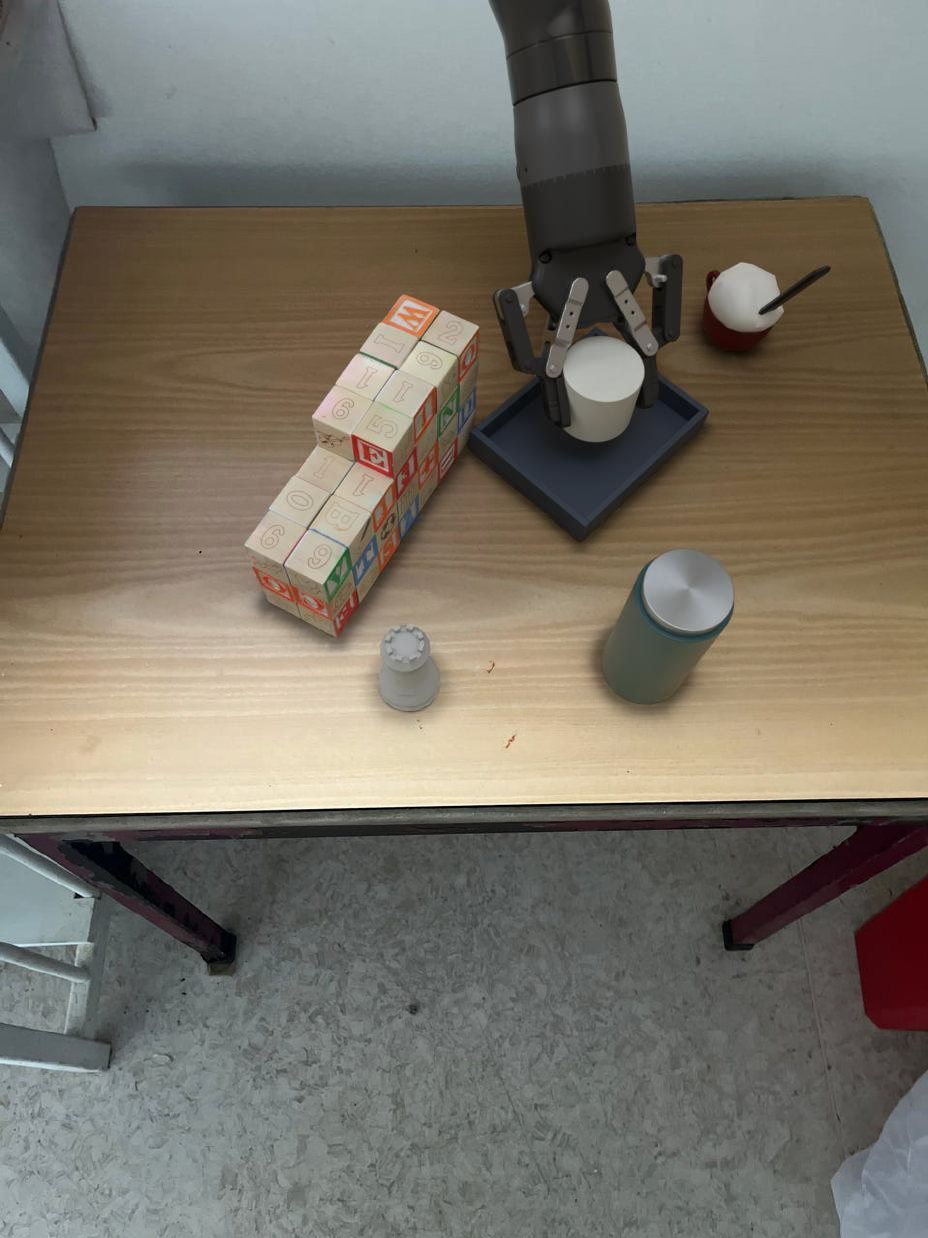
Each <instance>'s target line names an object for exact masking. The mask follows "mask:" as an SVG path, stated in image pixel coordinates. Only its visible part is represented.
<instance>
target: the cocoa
mask: <svg viewBox="0 0 928 1238" xmlns="http://www.w3.org/2000/svg"><path fill="white" fill-rule="evenodd" d="M831 269H832V267H831V266H830V265H827V264H826V265H824V266H821V267H819V268H816V269H814V270H812V271H811V272H809V273H808V274H806V275H805V276H804V277H802V278H801V279H799V280H798V281H796V282H795V283H794V284H793V285H791V286H790V287H789V288H787V289H786V290H784V291H783V292H780V289H779V286H778V283H777V278H776V275H775V274H773V273H771V272H769V271H766V270H765V269H763V268H761V267H759V266H757V265H755V264H753V263H747V262H742V261H741V262H739V263H737V264H735V265H733V266H731V267H729V268H727V269H725V270H724V271H721V272H720V270H718V269H714V270H711V271H709V272H708V273H707V275H706V277H705V278H706V280H705V284H706V285H705V286H706V291H707V293H706V295H705V298H704V303H703V307H702V308H703V309H702V310H703V311H702V318H701V319H702V320H701V326H702V328H703V330H704V333H705V334H706V337H707V339H708V340H709V341H710V342H711V343H713V344H714V345H715V346H716V347H718V348H719V349H723V350H726V351H728V352H742V351H747V350H748V349H751V348H753V347H755V346H757V345H758V344H760V343H761V342H762V341H763V340H764V339H765V338H766V337H767V336H768V334H769V333H770V331H771V330H772V329H773V327H774V326H775V325H776V323H777V322H778V320H779V319H780V318H781V317H782V315H783V314H784V312H785V310H784V307H783V305H784V304H786V303H787V302H789V301H790V300H791V299H793V298H794V297H795V296H798V294H800V293H801V292H803V291H805V290H806V289H807V288H808V287H809V286H811V285H813V284H814V283H815V282H817V281H818V280H820V279H821V278H822V277H824V276H825V275H828V273H830V271H831Z"/></svg>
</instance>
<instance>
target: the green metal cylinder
mask: <svg viewBox="0 0 928 1238" xmlns="http://www.w3.org/2000/svg"><path fill="white" fill-rule="evenodd" d="M734 609H735V588H734V584H733V580H732V577H731V576H730V574H729V572H728V571H727V570H726V568H725V567H724V566H723V565H722V564H721V563H720V562H719V561H718V560H717V559H716V558H714V557H712V556H711V555H709V554H707V553H705V552H703V551H701V550H697V549H691V548H675V549H672V550H671V549H670V550H668V551H666V552H663V553H662V554H659V555H658V556H657V557H654V558H653V559H651V560H650V561H648V562H647V563H646V564H645V565H644V566H643V567H642V568H641V570H640V572H639V574H638V575H637V578H636V580H635V582H634V583H633V586H632V588H631V590H630V592H629V595H628V596H627V599H626V601H625V603H624V605H623V608H622V610H620V611H621V612H620V613H619V616H618V618H617V620H616V622H615V624H614V626H613V628H612V631H611V633H610V635H609V637H608V639H607V640H606V644H605V645H604V648H603V650H602V654H601V659H600V660H601V663H600V664H601V670H602V674H603V677H604V680H605V682H607V684H608V685H609V687H610V689H612V691H614V693H616V694H617V695H618V696H619V697H621V698H622V699H624V700H627V701H629V702H632V703H634V704H640V705H652V704H657V703H661V702H663V701H665V700H667V699H668V698H670V697H671V696H672V695H673V694H675V692H676V691H677V690H678V689H679V687H680V686H681V685H682V684H683V682H684V681H685V680H686V678H687V677H688V676H689V674H690V673H691V672H692V671H693V669H695V667H696V665H697V664H698V663H699V662H700V660H701V659H702V658H703V657H704V655H705V654H706V653H707V652H708V650H709V649H710V648H711V646H712V645H713V644H714V642H716V640H717V638H718V637H719V636H720V635H721V633H723V631H724V630H725V629H726V627H727V626H728V625H729V623H730V621H731V619H732V616H733V614H734Z"/></svg>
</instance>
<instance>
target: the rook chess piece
mask: <svg viewBox="0 0 928 1238" xmlns="http://www.w3.org/2000/svg"><path fill="white" fill-rule="evenodd" d="M379 651H380V652H379V653H380V656H381V659H382V660H383V662H382V663H381V666H380V668H379V671H378V674H377V675H378V678H377V679H378V681H377V682H378V691H379V692H380V695H381V697H382V699H383V701H385V702H386V703H387V704H388V705H390V706H391V707H392V708H393V709H397V710H400V711H403V712H411V711H412V712H413V711H418V710H421V709H423V708H425V707H427V706H429V705H430V703H431V702H433V700H434V699H435V698H436V697H437V696H438V693H439V690H440V687H441V677H440V675H441V674H440V671H439V668H438V666H437V664H436V662H435V660H434V659H433V658H432V657H431V656H430V653H431V651H432V650H431V641H430V639H429V637H428V635H427V634H426V632H424V631H423V630H422V629H421V628H419V626H415V625H412V624H410V623H409V624H408V623H406V624H398V625H396V626H393V627H392V628H389V630H388V631H386V633H385V634H384V635H383V636H382V638H381V641H380V644H379Z"/></svg>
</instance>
